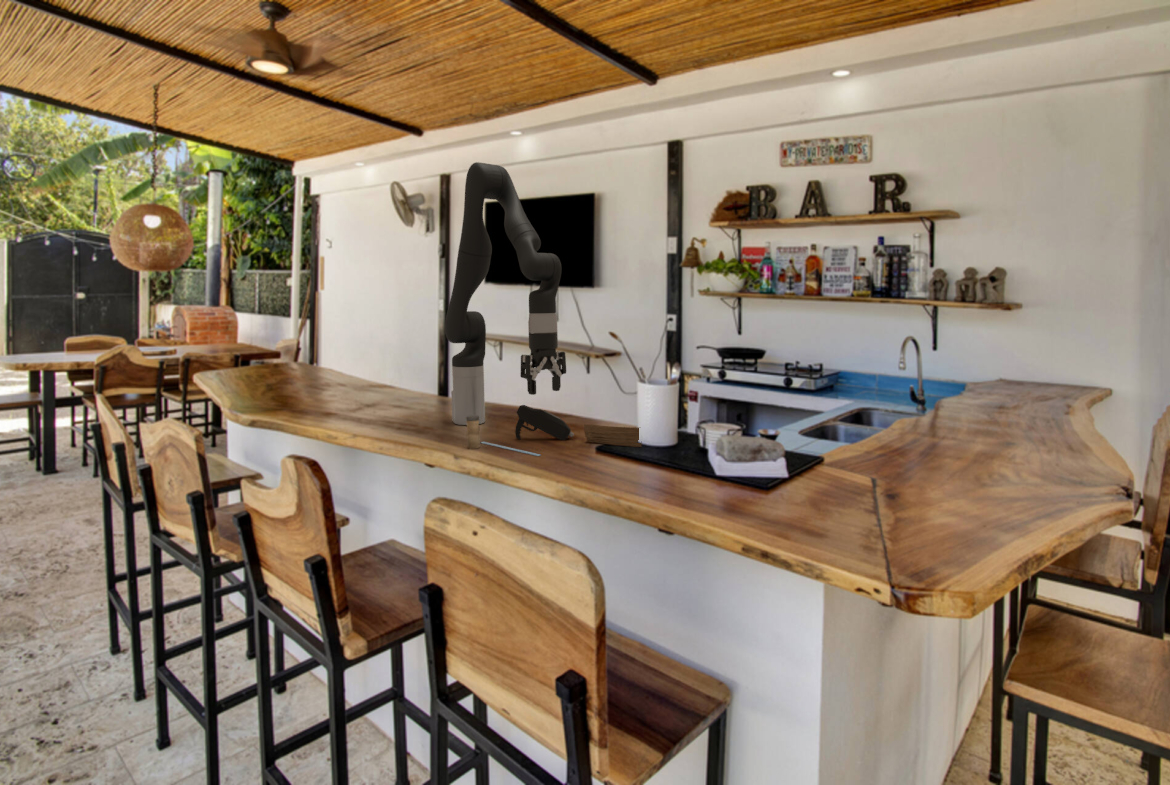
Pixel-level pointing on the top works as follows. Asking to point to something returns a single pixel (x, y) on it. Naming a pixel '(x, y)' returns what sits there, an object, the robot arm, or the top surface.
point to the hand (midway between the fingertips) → (544, 392)
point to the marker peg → (473, 432)
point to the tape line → (511, 449)
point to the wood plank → (612, 435)
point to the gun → (542, 422)
